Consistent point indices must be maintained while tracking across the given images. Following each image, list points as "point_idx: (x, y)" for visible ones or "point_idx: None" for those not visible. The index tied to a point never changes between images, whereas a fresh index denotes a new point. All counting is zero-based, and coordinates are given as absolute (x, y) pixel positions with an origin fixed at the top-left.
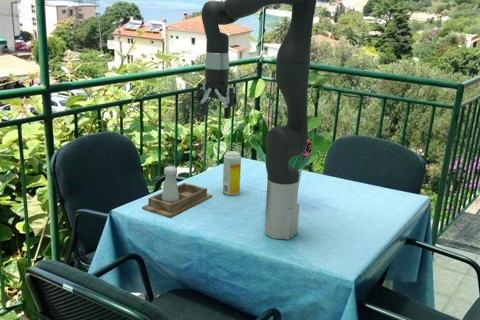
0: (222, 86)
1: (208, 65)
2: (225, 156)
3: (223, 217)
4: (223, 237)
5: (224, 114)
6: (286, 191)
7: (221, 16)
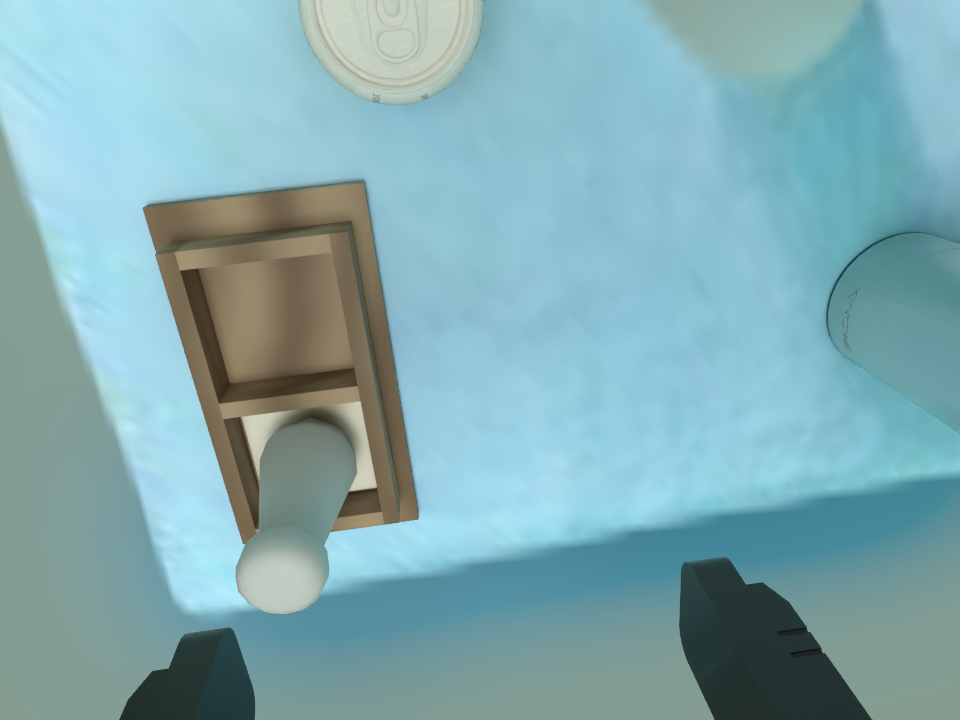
0: None
1: None
2: (366, 94)
3: (595, 348)
4: (709, 485)
5: (721, 711)
6: None
7: None
